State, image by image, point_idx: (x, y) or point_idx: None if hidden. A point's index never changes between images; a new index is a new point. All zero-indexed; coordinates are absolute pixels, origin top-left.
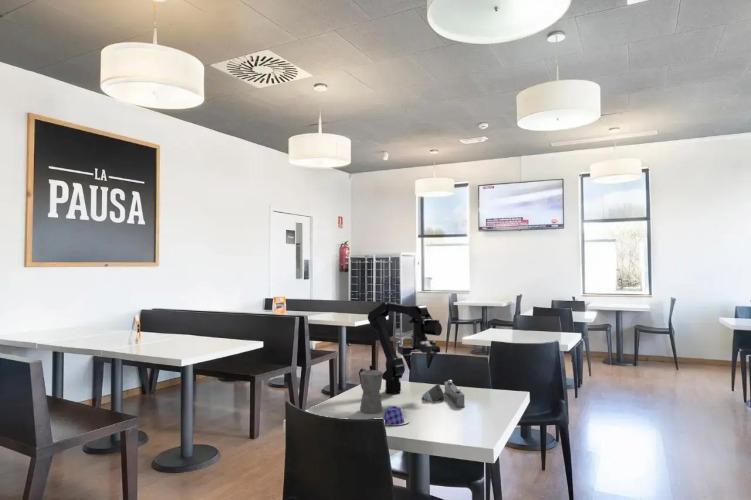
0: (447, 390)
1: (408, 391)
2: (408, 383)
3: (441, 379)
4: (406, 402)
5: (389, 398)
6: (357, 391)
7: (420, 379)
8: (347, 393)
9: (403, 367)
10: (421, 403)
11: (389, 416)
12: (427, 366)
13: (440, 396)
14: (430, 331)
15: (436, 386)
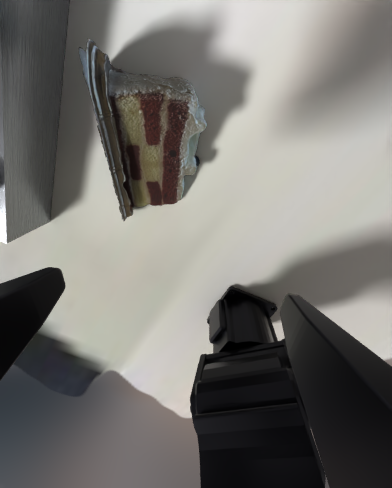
0: (34, 164)
1: (180, 297)
2: (128, 364)
3: None
4: (310, 146)
5: (316, 249)
6: None
7: (75, 378)
8: None
9: (208, 403)
10: (259, 79)
11: None
12: (51, 295)
13: (119, 70)
14: None
15: (108, 96)
